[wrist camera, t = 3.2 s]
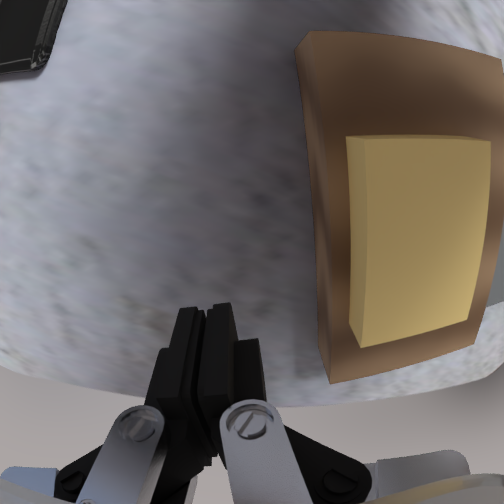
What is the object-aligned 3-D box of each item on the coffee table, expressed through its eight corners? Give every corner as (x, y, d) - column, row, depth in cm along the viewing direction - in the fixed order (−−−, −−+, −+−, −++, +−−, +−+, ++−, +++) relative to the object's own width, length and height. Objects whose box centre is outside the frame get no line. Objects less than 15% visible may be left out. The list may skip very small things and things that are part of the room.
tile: (345, 136, 13) (363, 139, 11) (463, 136, 12) (490, 141, 10) (348, 323, 17) (360, 348, 15) (449, 300, 16) (466, 319, 14)
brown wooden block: (294, 50, 14) (309, 30, 11) (463, 63, 14) (501, 59, 10) (318, 346, 22) (330, 384, 19) (450, 316, 22) (473, 344, 18)
